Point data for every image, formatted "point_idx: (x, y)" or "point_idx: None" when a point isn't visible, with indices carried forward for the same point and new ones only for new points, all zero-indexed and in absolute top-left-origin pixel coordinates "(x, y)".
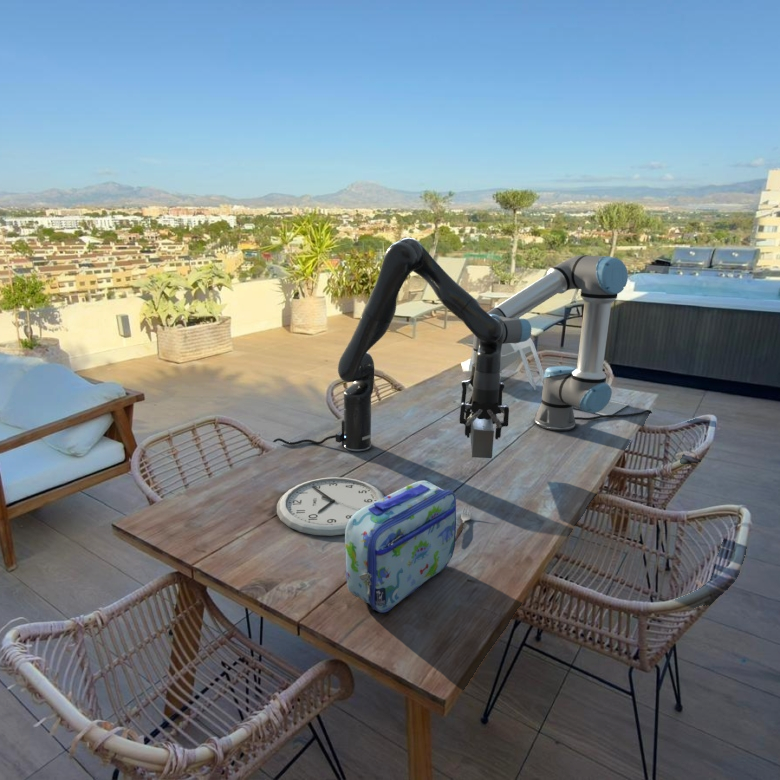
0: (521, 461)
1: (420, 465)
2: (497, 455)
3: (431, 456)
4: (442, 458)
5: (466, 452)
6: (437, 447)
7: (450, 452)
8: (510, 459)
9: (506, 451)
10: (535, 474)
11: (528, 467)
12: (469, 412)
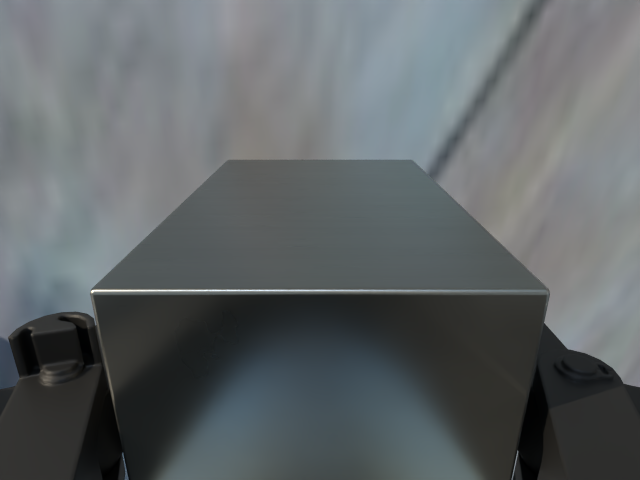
0: (592, 209)
1: (7, 342)
2: (456, 139)
3: (32, 222)
4: (105, 239)
5: (247, 122)
6: (31, 63)
7: (139, 140)
8: (529, 190)
9: (537, 56)
10: (612, 354)
11: (605, 282)
12: (122, 476)
